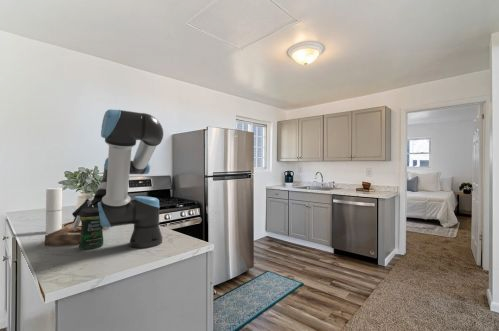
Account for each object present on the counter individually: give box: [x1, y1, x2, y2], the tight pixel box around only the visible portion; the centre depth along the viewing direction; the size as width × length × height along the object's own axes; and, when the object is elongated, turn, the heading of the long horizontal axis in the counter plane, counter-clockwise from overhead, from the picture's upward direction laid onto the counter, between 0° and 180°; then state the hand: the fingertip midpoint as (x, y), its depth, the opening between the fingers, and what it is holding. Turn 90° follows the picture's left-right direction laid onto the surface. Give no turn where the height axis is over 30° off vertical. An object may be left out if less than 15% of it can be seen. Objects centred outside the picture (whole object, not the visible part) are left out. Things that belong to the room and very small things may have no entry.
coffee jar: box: [78, 207, 104, 250], centre depth 115 cm, size 10×8×19 cm
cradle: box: [44, 226, 81, 246], centre depth 124 cm, size 16×16×5 cm
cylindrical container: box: [45, 187, 63, 235], centre depth 139 cm, size 7×7×25 cm
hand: (89, 229), depth 112 cm, fingers open, 12 cm apart
